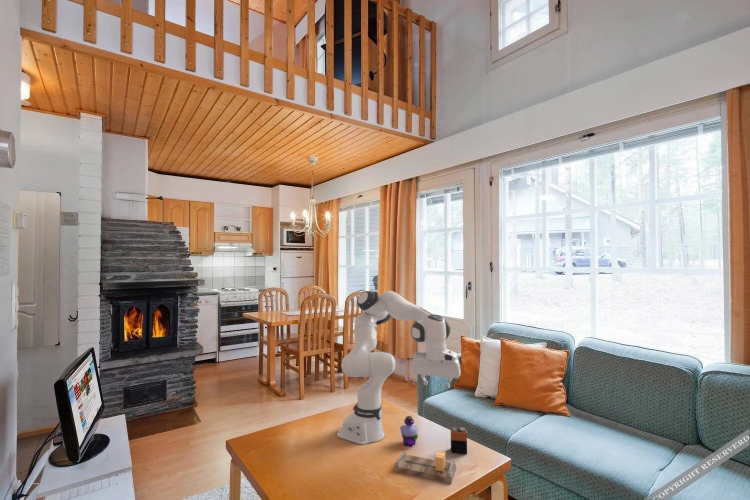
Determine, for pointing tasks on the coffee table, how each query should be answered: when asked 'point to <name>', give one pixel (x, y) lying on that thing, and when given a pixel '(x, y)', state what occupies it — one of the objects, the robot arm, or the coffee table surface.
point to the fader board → (424, 468)
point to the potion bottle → (409, 432)
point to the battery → (458, 440)
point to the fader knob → (440, 461)
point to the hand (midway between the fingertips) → (436, 386)
